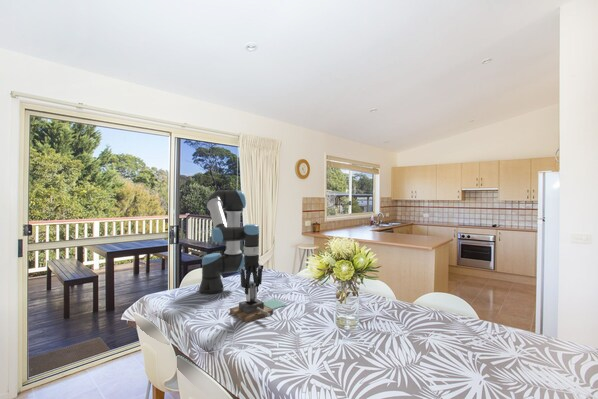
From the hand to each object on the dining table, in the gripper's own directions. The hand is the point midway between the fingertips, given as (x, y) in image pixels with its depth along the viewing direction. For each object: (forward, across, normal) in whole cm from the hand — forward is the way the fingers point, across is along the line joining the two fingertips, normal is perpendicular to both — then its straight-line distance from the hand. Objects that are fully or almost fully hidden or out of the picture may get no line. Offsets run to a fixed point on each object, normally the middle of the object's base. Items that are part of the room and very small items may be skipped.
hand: (251, 299), depth 154 cm
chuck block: (+7, 0, -4) cm, 8 cm away
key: (+4, 0, 0) cm, 4 cm away
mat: (+7, +16, +3) cm, 18 cm away
